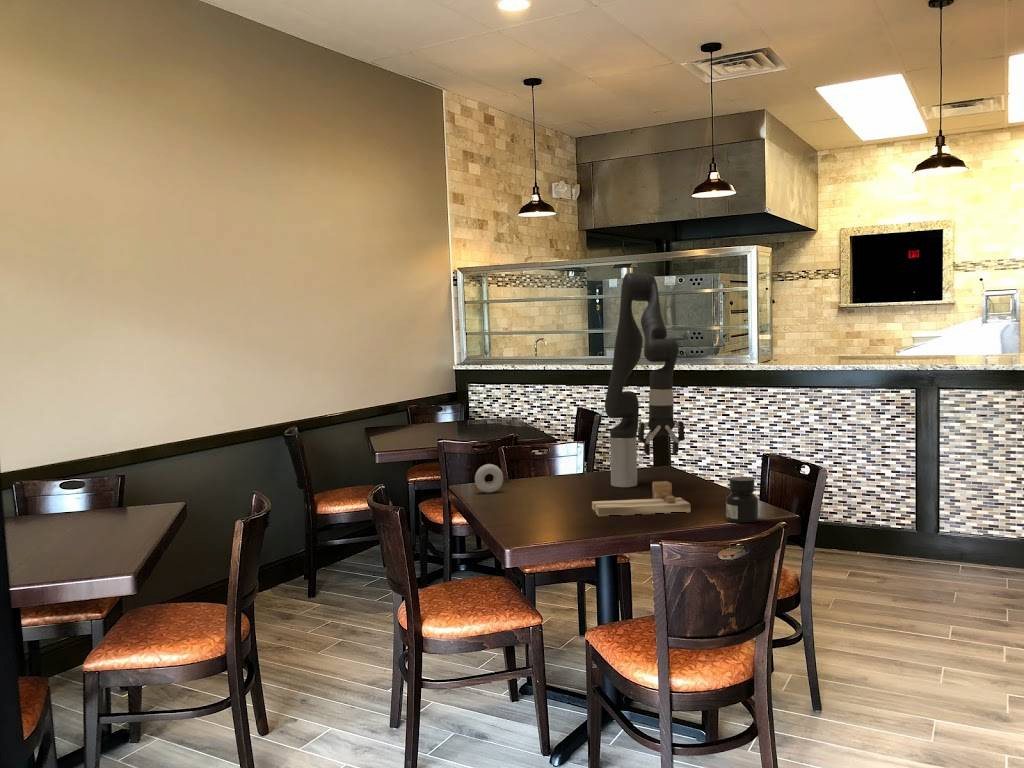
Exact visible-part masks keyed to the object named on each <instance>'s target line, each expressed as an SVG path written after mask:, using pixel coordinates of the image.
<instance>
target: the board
mask: <svg viewBox="0 0 1024 768" xmlns="http://www.w3.org/2000/svg"><path fill="white" fill-rule="evenodd" d="M691 505H692V504H691V503H689V502H688V501H686V500H685V499H684V498H682V497H675V503H668V502H667V501H665V500H664V499H662V498H659V499H653V498H640V499H621V500H620V499H619V500H618V499H616V500H598V501H597V500H596V501H591V510H592V509H593V510H594V511H595V512H596V513H595V512H594V511H593V510H592V511H593V512H594V513H595V514H596V515H597V516H598V517H610V516H609V515H621V516H635V514H642V515H656V514H655V513H664V514H672V513H671V512H686V513H691V511H692V510H691V507H692V506H691Z"/></svg>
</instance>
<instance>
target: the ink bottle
mask: <svg viewBox="0 0 1024 768" xmlns="http://www.w3.org/2000/svg"><path fill="white" fill-rule="evenodd" d="M729 491H730V493H729V494H728V495H726V497H725V500H726V501H725V504H726V505H725V512H726V513H725V516H726V520H727V521H729V522H731V521H732V523H737V522H738V523H739V524H751V523H756V522H757V521H758V520H759V498H758V497H757V496H756V495H755V493H754V492H755V478H753V477H748V476H733V477H730V478H729ZM738 523H737V524H738Z"/></svg>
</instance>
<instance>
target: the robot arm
mask: <svg viewBox="0 0 1024 768" xmlns="http://www.w3.org/2000/svg"><path fill="white" fill-rule="evenodd" d="M634 301H635V302H646V303H648V304H647V306H646V308H645V309H644V311H643V312H642V315H641V318H640V326H641V328H642V329H641V330H642V332H641V331H640V329H639V327H638V325H637V322H636V320H635V318H634V314H633V307H632V303H633V302H634ZM619 304H620V306H619V307H620V308H619V316H618V317H619V318H618V323H617V324H618V326H617V331H616V337H615V342H614V349H613V358H612V359H613V360H612V366H611V373H610V376H609V377H610V378H609V382H608V386H607V391H606V394H605V400H604V410H605V414H606V416H607V418H609V419H621V421H620V423H618V424H617V425H615V426H614V427H612V428H611V429H610V431H609V436H610V438H609V439H610V441H609V442H610V443H609V444H610V447H609V449H610V451H609V452H610V486H612V487H615V488H631V487H632V488H633V487H636V486H638V453H637V451H638V449H637V448H638V446H637V443H638V442H641V443H643V452H644V454H645V455H646V456H650V455H651V444H650V442H651V441H652V439H654V438H655V436H657V437H660V436H661V437H662V436H664V437H666V436H669V437H670V438H671V440H672V455H674V456H676V455H677V453H679V445H680V444H679V443H680V442H683V441H684V440H685V426H684V421H681V420H678V421H675V420H674V402H675V400H674V391H673V389H674V388H673V386H674V385H673V378H674V371H675V370H674V369H675V366H676V362H677V359H678V356H679V351H680V350H679V348H680V347H679V344H678V343H677V341H676V340H675V339H672V338H666V337H668V336H667V333H668V331H667V328H666V325H665V322H664V319H663V315H662V313H661V304H660V296H659V288H658V283H657V279H656V278H655V276H654V275H653V274H650V273H641V272H640V273H638V272H637V273H636V272H626V273H625V274H624V276H623V278H622V281H621V291H620V303H619ZM642 333H643V334H644V335H642ZM643 336H644V338H643ZM643 340H644V341H643ZM643 342H644V348H643ZM642 349H643V350H642ZM642 351H643V356H644V358H645V359H646V360H647V361H648V362H650V363H664V365H663V366H662V367H661V368H658V369H653V370H652V371H650V373H649V393H648V394H649V395H648V422H643V421H640V422H639V414H640V413H639V410H640V409H639V408H640V404H639V397H638V395H637V394H636V392H634V391H633V390H627V391H626V390H625V391H624V386H625V383H626V381H627V378H629V376H630V375H631V373H632V371H633V370H634V369H635V368H636V367H637V364H639V361H640V359H641V355H642ZM674 427H675V428H676V429H677V435H678V436H677V435H676V433H674V431H673V429H674ZM647 428H649V431H648V432H647V434H646V436H645V430H646V429H647ZM637 432H638V433H637ZM637 441H638V442H637Z"/></svg>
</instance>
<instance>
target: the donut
mask: <svg viewBox="0 0 1024 768" xmlns="http://www.w3.org/2000/svg"><path fill="white" fill-rule="evenodd" d="M487 475H492V477H493V480H492V481H490V482H486V480H485V478H486V476H487ZM503 482H504V475H503V472H502V470H501V468H499V466H498V465H495V464H492V463H487V464H484V465H482V466H480V467H479V468H478V469H477V471H476V472H475V475H474V483H475V485H476V487H477V488H478V490H479V491H481V492H483V493H485V494H486V493H487V494H490V493H494V492H497V490H499V489H500V488H501V487H502V484H503Z"/></svg>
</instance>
